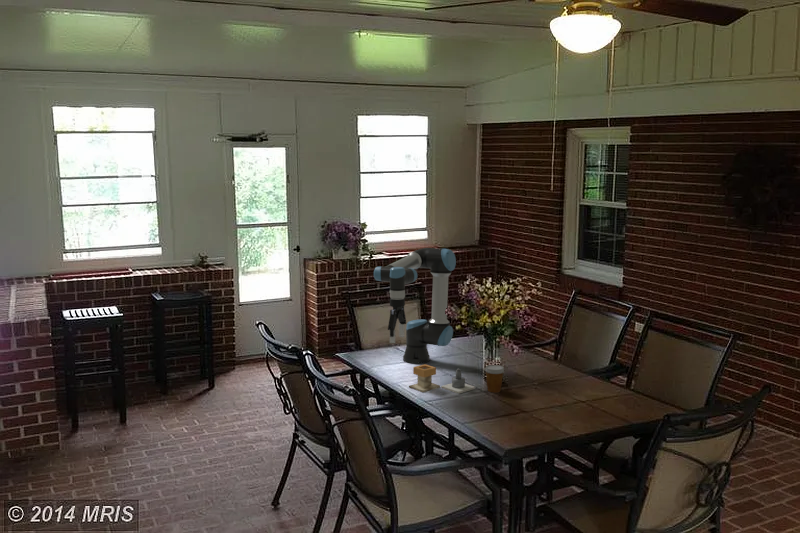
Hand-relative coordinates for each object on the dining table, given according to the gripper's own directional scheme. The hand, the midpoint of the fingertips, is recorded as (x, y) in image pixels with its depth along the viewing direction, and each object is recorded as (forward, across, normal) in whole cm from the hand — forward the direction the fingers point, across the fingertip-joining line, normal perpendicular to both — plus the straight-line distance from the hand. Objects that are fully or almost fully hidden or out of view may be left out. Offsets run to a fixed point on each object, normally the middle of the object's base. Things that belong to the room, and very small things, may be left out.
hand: (397, 339), depth 369 cm
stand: (+24, -2, +14) cm, 28 cm away
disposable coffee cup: (+24, -9, +48) cm, 54 cm away
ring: (+17, -2, +14) cm, 22 cm away
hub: (+24, -6, +31) cm, 39 cm away
